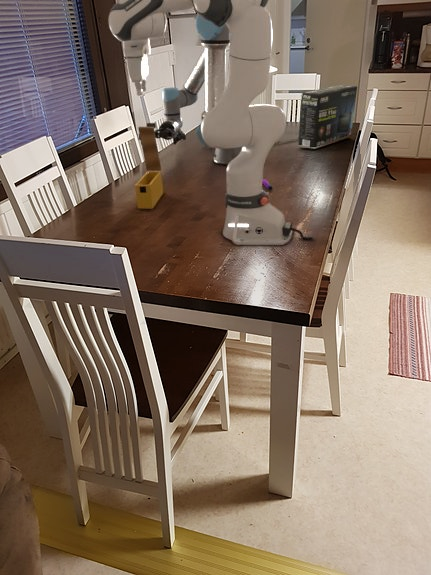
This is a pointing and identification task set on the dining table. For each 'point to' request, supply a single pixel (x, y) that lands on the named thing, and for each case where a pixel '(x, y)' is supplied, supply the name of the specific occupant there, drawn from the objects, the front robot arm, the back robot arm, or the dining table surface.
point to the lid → (150, 147)
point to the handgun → (267, 184)
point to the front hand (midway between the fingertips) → (141, 93)
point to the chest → (149, 189)
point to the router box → (326, 115)
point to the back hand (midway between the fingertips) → (157, 141)
